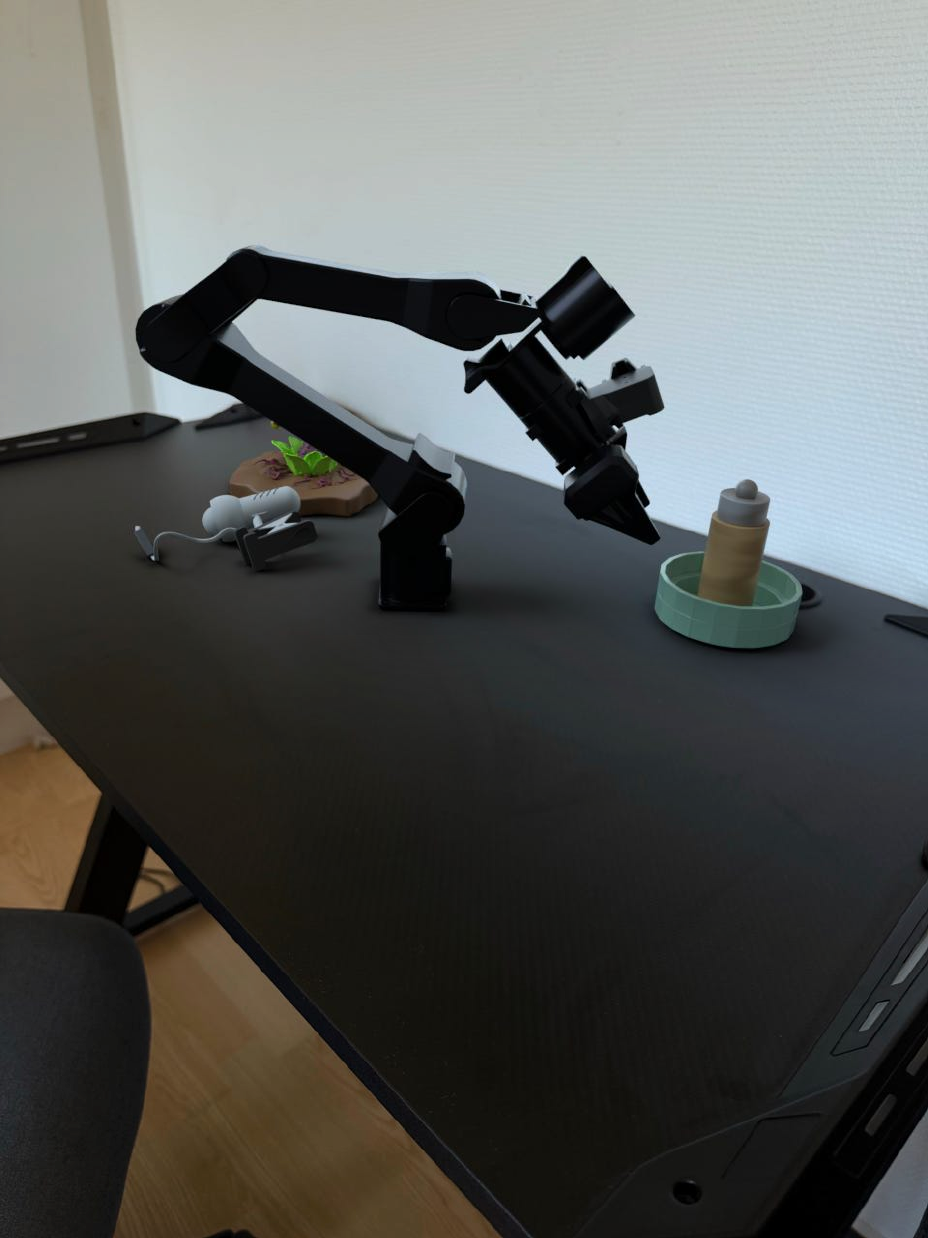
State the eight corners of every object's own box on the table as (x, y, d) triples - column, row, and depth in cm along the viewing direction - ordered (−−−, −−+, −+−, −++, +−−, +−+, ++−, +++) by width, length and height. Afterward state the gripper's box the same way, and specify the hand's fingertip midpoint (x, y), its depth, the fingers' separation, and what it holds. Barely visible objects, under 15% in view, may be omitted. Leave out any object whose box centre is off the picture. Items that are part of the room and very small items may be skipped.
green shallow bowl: (673, 652, 80) (681, 607, 78) (640, 590, 92) (646, 549, 90) (813, 654, 81) (825, 610, 79) (764, 592, 93) (772, 552, 91)
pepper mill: (720, 632, 83) (748, 492, 77) (683, 609, 87) (706, 474, 81) (760, 621, 86) (791, 484, 79) (722, 600, 90) (748, 468, 83)
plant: (205, 507, 108) (197, 414, 102) (264, 460, 125) (259, 379, 120) (367, 524, 105) (367, 430, 100) (404, 473, 122) (405, 391, 117)
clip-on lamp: (151, 607, 90) (323, 555, 94) (129, 554, 86) (309, 502, 90) (146, 552, 99) (302, 507, 103) (125, 502, 96) (288, 457, 99)
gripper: (624, 354, 68) (744, 503, 72) (609, 316, 84) (707, 440, 89) (512, 448, 72) (632, 584, 76) (519, 395, 88) (617, 509, 93)
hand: (651, 523), depth 83 cm, fingers open, 9 cm apart
